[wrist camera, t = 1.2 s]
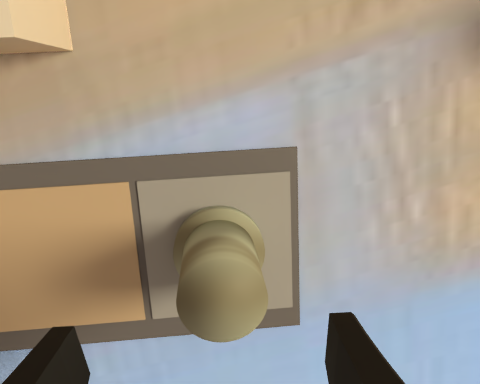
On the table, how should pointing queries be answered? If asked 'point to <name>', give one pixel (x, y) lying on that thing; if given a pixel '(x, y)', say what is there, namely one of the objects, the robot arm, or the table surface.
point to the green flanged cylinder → (220, 274)
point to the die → (34, 26)
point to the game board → (132, 240)
